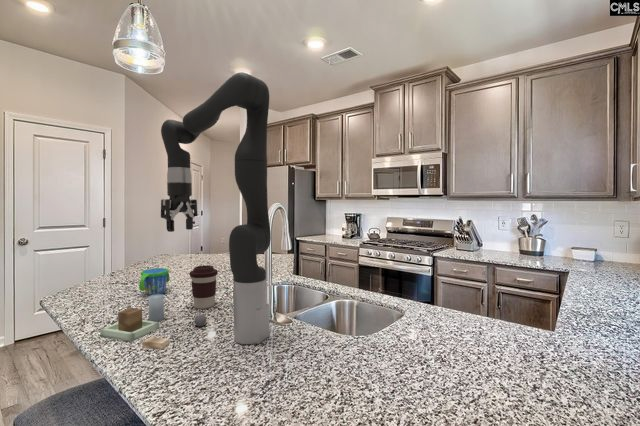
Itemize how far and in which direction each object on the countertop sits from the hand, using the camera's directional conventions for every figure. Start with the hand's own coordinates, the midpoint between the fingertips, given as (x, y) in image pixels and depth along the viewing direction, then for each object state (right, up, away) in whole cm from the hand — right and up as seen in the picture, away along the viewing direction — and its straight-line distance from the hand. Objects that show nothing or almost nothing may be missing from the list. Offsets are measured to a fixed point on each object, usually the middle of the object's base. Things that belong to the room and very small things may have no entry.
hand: (180, 230), depth 110 cm
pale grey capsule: (-9, -30, +1) cm, 31 cm away
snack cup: (-24, -29, +32) cm, 49 cm away
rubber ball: (+9, -29, -5) cm, 30 cm away
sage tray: (-11, -31, -10) cm, 34 cm away
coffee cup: (+3, -30, +15) cm, 33 cm away
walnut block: (-11, -30, -10) cm, 33 cm away
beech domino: (+1, -31, -19) cm, 37 cm away
